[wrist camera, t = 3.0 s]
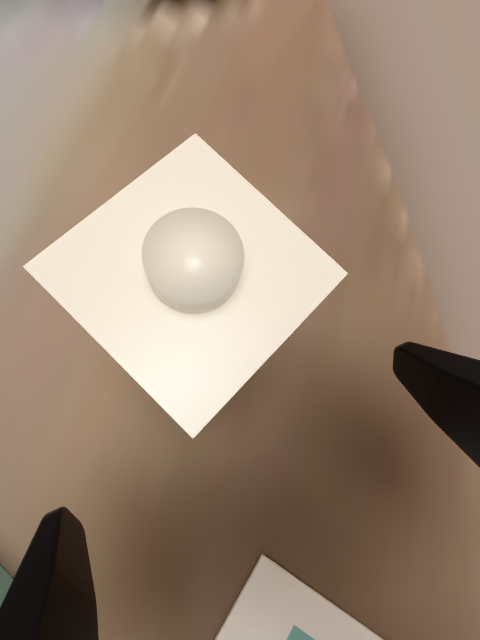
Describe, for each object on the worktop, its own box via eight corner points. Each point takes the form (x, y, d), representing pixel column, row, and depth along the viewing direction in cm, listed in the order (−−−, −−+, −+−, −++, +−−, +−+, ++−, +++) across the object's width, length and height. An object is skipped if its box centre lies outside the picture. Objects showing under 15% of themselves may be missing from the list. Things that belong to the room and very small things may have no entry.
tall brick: (252, 356, 20) (365, 258, 7) (195, 416, 19) (192, 443, 6) (196, 301, 20) (194, 103, 7) (136, 357, 19) (0, 247, 6)
